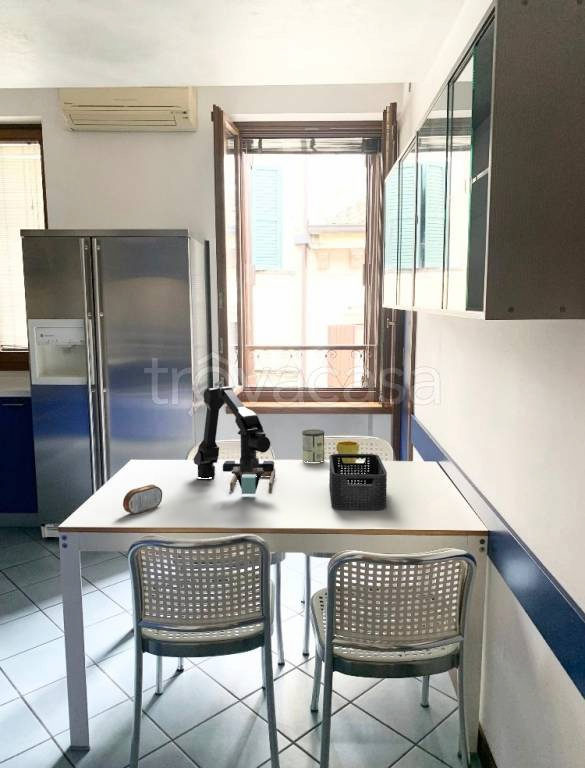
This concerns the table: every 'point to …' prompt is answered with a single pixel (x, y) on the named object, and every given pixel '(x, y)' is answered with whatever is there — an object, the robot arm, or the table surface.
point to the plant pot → (348, 450)
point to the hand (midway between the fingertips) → (249, 488)
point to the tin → (142, 499)
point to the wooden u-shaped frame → (272, 474)
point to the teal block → (248, 483)
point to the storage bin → (357, 483)
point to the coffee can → (313, 445)
